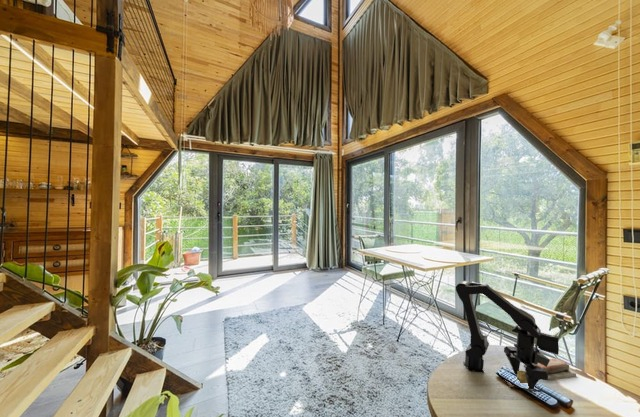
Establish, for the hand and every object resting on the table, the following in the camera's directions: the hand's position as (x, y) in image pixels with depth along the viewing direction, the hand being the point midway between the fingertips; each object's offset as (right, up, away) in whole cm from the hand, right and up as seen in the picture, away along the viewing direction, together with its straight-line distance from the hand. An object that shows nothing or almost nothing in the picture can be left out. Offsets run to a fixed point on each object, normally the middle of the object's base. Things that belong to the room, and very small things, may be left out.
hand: (523, 381), depth 110 cm
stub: (0, -2, 0) cm, 2 cm away
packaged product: (+21, -4, +12) cm, 24 cm away
